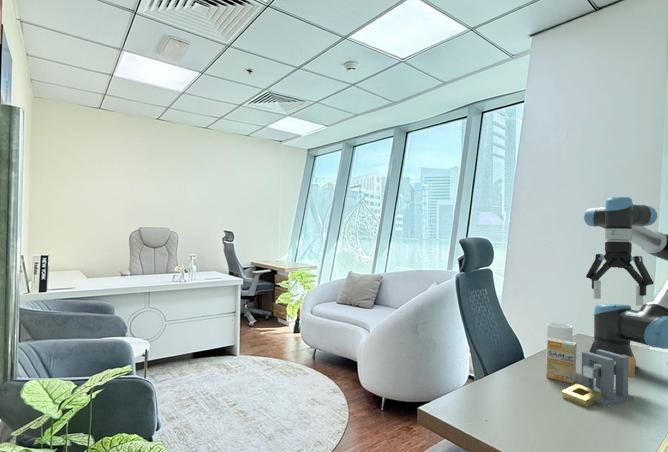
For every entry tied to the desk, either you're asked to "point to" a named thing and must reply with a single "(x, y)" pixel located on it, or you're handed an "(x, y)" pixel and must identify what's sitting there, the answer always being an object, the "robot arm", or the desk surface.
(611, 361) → the bracket
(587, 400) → the yellow square frame
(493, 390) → the desk surface
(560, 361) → the supplement box
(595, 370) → the shaft
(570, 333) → the white hollow tube
